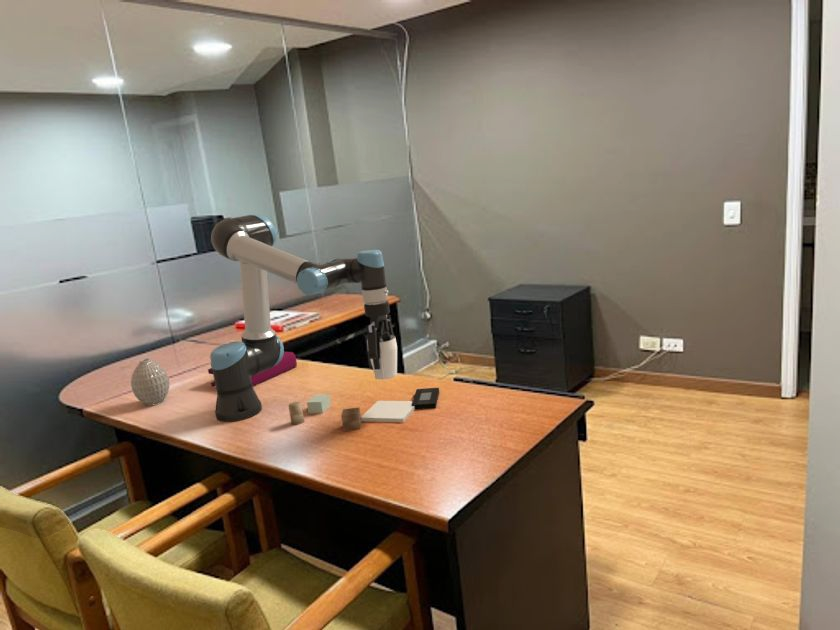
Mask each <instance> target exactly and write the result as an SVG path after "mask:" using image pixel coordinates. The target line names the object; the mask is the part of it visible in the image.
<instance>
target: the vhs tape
mask: <svg viewBox="0 0 840 630" xmlns="http://www.w3.org/2000/svg"><path fill="white" fill-rule="evenodd" d="M438 395H440V388H439V387H430V388H417V389H416V390H415V393H414V396H413V399H412V401H413V402H412V406H415V410H414V411H416V410H429V409H431V410H432V409H436V408H437V404H438V401H437V400H439V396H438Z"/></svg>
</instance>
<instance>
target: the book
mask: <svg viewBox="0 0 840 630" xmlns="http://www.w3.org/2000/svg"><path fill="white" fill-rule="evenodd" d="M297 366H298V361H297V357H296V354H295V353H294V352H293V351H284V354H283V357H282V359H281V361H280V362H279V363H278V364H277V365H275V366H274V367H272V368H271V369H268V370H265V371H263V372H261V373H258V374H256V375H254V376H252V377H251V380H252V386H253V387H256V386H258V385H260V384H262V383H264V382H266V381H268V380H271V379H274V378H276V377H277V376H281V375H282V374H285V373H287V372H289V371H291V370H293V369H295V368H297ZM286 371H287V372H286ZM207 372H208V374H209V375H213V371H212V367H210V368H209V369H207ZM257 384H258V385H257ZM214 386H215V381H214V380H213V381H212V382H210V387H214Z"/></svg>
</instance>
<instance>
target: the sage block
mask: <svg viewBox="0 0 840 630" xmlns="http://www.w3.org/2000/svg"><path fill="white" fill-rule="evenodd" d="M330 397H331V396H330V394H328V393H327V394H324V393H323V394H318V393H316V394H314V395H313V396H312V397H311V398H310V399H309V400H308V401H307V402H306V405H307V406H306V407H307V412H308V414H324V412H326V410H328V408H330V407H331V405H332V404H331V399H330Z"/></svg>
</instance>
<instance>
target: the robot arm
mask: <svg viewBox="0 0 840 630" xmlns="http://www.w3.org/2000/svg"><path fill="white" fill-rule="evenodd" d="M210 241H211V245H212V247H213V249H214V250H215V252H217V254H219V255H220V256H222V257H224V258H226V259H227V260H230V261H233V262H239V268H240V269H239V271H240V278H241V279H240V280H241V281H240V283H241V292H242V303H243V306H242V307H243V315H244V319H243V320H244V330H243V332H242V333H241V334H240V336H241V337H240V338H241V341H239V340H238V341H237V340H236V341H230V342H228V343H224V344H223V343H222V344H220V345H219V346H217V347H216V348H214V349H212V351H211V353H210V356H209V359H210V366H211V367H210V368H212V371H213V374H212V375H213V382H214V381H215V386H216V387H215V392H216V401H215V408H214V409H215V410H214V413H215V414H214V415H215V418H216V420H217V421H220V422H225V421H226V422H227V421H228V422H236V421H242V420H245V419H248V418H251V417H253V416H254V417H255V416H256V415H258V414H259V413H260V412H262V410H263V406H262V402H261V400H260V399H259V397H258V395H257V393H256V391H255V389H254V386H252V380H251V377H252V376H254V375H256V374H258V373H261V372H263V371H265V370H268V369H271V368H272V367H274V366H275V365H277V364H278V363H279V362H280V361H281V359H282V357H283V354H284V352H285V350H284V349H285V348H284V343H283V341H281V338H280V336H278V334H277V332H276V331H275V329H273V328H272V327H271V326H272V325H271V323H272V322H271V310H270V296H269V283H268V273H270V274H272V275H275V276H277V277H280V278H282V279H285V280H287V281H290V282H291V283H294V284H297V287H298V289H299V290H300V291H301V292H302V293H303V294H305V295H307V296H312V295H320V294H321V293H323V292H325V291H326V292H327V291H328V290H331V289H335V288H337V287H340V286H341V287H342V286H343V285H346V284H356V283H357V284H360V287H361V293H362V294H361V295H362V302H363V303H364V304H363V309H364V315H365V316H366V317H368V318H369V319H370V323H369V325H366V326H365V327H366V328H365V329H366V333H367V340H368V346H367V353H368V360H369V359H373V365H374V370H373V373H375V374H374V379H375V380H381V379H384V370H383V363H382V358H380V342H381V337H382V340H383V342H386V341H390V335H393V336H395V333H394V330H393V325H392V316H391V314H390V313H391V309H390V302H389V301H388V300H389V295H388V294H389V293H390V292H389V290H388V288H387V280H386V273H385V271H386V270H385V262H384V258H383V257H384V256H383V253H382V251H381V250H379V249H370V250H368V249H367V250H362V251H359V252H357V255H356V258H355V257H354V258H352V257H351V258H340V257H339V258H334V259H329V260H328V261H327V262H325V263H323V264H316V263H314V262H311V261H309V260H306V259H305V258H301V257H299V256H297V255H295V254H291V253H290V252H286V251H284V250H281V249H279V248H276V247H274V245H275V243H276V241H277V229H276V228H275V226H274V224H273V223H272V221H271V220H270V219H269V218H268V217H266V216H264V215H262V214H248V215H242V216H236V217H233V218H225V219H223V220H220V221H218V222H217V223H216V224H215V225H214V227H213V229H212V231H211V236H210ZM384 380H385V379H384Z"/></svg>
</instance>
